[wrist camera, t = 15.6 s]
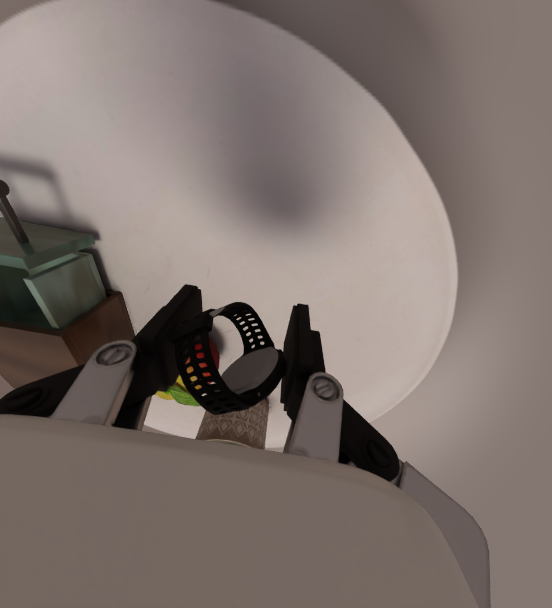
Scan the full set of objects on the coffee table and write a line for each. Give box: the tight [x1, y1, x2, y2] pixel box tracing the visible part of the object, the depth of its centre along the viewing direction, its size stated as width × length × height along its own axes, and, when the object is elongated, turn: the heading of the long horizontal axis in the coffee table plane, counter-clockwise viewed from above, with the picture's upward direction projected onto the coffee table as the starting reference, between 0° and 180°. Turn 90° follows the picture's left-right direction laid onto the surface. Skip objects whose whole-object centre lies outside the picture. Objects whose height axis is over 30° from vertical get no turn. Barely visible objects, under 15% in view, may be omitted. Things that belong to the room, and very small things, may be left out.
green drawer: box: [0, 180, 107, 331], centre depth 23 cm, size 18×11×8 cm, turn 170°
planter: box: [196, 399, 269, 450], centre depth 40 cm, size 13×13×10 cm
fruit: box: [155, 337, 220, 406], centre depth 31 cm, size 11×11×10 cm
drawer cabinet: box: [0, 290, 135, 389], centre depth 30 cm, size 14×13×10 cm
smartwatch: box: [170, 302, 286, 415], centre depth 9 cm, size 4×5×5 cm
